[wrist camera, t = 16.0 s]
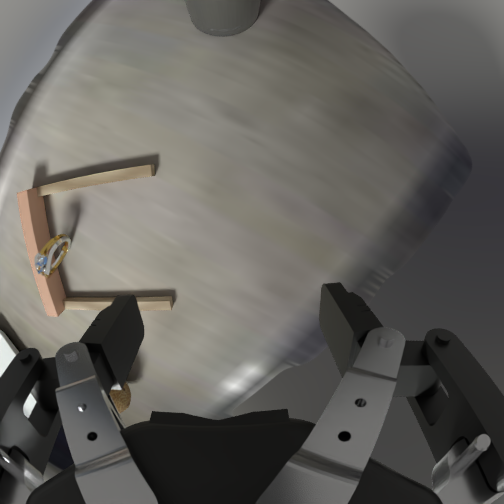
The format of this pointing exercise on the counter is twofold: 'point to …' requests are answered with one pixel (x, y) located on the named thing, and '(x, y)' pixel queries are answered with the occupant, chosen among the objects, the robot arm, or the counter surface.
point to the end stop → (35, 241)
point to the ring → (51, 255)
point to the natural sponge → (121, 398)
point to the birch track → (96, 179)
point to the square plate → (3, 353)
